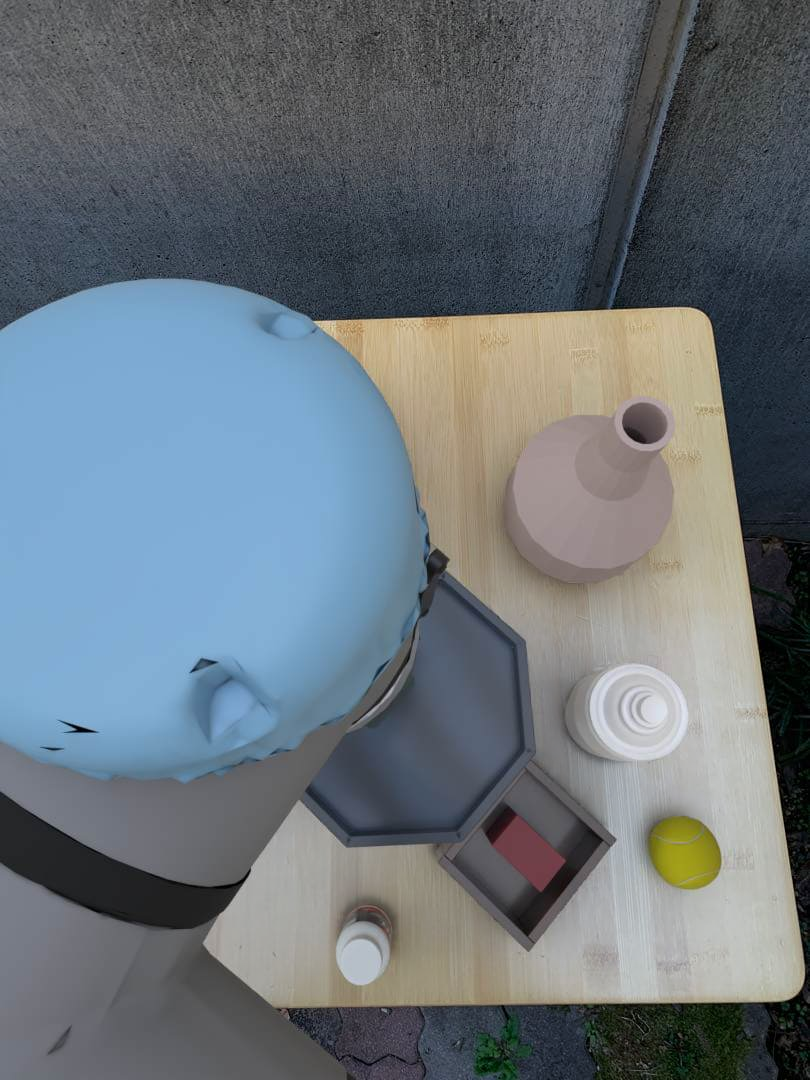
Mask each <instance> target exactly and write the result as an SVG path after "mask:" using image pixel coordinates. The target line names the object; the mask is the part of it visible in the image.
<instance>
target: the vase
mask: <svg viewBox="0 0 810 1080" xmlns="http://www.w3.org/2000/svg"><path fill="white" fill-rule="evenodd" d="M675 430H676V421H675V417H674V414H673V412H672V411H671V409H670V408H669V406H668V405H667V404H665V403H664V402H663V401H662V400H660V399H658V398H655V397H652V396H650V395H635V396H633V397H629V398H627V399H626V400H624V401H623V402H622V403H621V404H620V405H619V406H618V408H617V409H616V411H615V412H614V414H613V415H612V416H611V417H610V416H606V415H604V414H575V415H572V416H569V417H565V418H562V419H559V420H556V421H553V422H550V423H549V424H548V425H547V426H545V427H544V428H543V429H542V430H540V431H538V433H536V434H535V435H534V436H533V437H532V438H530V439H529V441H528V443H527V444H526V446H525V448H524V450H523V451H522V453H521V454H520V456H519V458H518V460H517V461H516V463H515V465H514V467H513V468H512V471H511V473H510V475H509V476H508V478H507V480H506V484H505V491H504V495H503V502H502V509H503V516H504V521H505V526H506V531H507V533H508V535H509V536H510V538H511V540H512V541H513V543H514V545H515V547H516V548H517V550H518V553H520V555H521V556H522V557H523V558H524V559H525V560H526V561H528V562H529V563H530V564H531V565H533V566H534V567H535V568H536V569H537V570H539V571H540V572H541V573H543V574H545V575H546V576H549V577H552V578H554V579H557V580H560V581H563V582H565V583H567V584H568V583H569V584H598V583H600V582H603V581H607V580H610V579H613V578H615V577H618V576H621V575H622V574H624V573H625V572H626V571H627V570H628V569H630V568H631V567H632V566H633V565H635V564H636V563H637V562H638V561H639V560H640V559H641V558H643V556H645V555H646V554H647V553H648V552H649V551H650V550H652V549H653V548H654V547H655V546H656V545H657V544H658V543H659V542H660V540H661V538H662V536H663V534H664V533H665V531H666V529H667V527H668V525H669V523H670V521H671V519H672V513H673V505H674V497H675V496H674V495H675V490H674V485H673V481H672V477H671V473H670V470H669V469H670V468H669V465H668V463H667V462H666V460H665V459H664V458H663V456H662V454H661V452H662V451H663V450H664V449H665V447H666V446H668V445H669V444H670V442H671V440H672V438H673V437H674V435H675V432H676V431H675Z"/></svg>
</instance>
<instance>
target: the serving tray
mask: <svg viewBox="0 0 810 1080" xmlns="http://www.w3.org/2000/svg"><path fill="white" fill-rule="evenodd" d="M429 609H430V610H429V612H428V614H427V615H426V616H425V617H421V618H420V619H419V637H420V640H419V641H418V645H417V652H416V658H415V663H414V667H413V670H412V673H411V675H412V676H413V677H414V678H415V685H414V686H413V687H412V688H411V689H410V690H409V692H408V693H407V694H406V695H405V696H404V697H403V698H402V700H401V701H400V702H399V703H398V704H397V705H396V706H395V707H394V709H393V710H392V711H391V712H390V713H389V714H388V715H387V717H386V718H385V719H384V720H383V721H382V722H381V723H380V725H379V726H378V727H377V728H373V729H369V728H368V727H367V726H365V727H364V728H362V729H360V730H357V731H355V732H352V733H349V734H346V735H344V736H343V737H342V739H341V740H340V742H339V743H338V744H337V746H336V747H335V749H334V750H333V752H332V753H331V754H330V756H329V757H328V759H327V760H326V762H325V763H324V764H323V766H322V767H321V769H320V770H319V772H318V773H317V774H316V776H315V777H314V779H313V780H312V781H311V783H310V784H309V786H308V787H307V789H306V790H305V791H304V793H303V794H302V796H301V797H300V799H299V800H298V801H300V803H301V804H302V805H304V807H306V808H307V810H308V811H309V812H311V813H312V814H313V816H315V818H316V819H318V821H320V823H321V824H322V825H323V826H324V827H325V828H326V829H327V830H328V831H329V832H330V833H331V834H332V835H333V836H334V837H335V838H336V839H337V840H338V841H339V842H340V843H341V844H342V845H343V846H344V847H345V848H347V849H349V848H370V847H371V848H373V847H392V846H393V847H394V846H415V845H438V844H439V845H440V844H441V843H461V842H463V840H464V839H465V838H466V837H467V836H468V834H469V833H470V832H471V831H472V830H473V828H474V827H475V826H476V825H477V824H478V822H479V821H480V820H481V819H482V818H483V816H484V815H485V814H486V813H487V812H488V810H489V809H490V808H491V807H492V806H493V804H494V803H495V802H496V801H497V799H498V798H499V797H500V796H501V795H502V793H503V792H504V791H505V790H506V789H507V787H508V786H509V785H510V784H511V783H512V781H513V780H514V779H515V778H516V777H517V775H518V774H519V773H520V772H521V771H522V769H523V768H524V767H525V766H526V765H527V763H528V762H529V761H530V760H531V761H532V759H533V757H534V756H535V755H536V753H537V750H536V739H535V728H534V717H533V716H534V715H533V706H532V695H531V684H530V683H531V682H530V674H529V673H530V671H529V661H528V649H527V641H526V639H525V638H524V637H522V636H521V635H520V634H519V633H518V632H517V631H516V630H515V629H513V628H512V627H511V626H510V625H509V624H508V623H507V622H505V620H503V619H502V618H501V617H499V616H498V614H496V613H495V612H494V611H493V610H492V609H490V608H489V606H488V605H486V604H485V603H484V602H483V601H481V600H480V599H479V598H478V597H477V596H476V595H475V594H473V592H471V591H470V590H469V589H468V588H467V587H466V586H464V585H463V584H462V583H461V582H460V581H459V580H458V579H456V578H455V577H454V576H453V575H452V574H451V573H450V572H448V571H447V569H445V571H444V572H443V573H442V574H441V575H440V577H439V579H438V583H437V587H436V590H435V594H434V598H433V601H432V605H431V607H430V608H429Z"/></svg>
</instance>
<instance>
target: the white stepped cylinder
mask: <svg viewBox="0 0 810 1080" xmlns="http://www.w3.org/2000/svg"><path fill="white" fill-rule="evenodd" d="M564 721H565V725H566V729H567V731H568V733H569V735H570V737H571V738H572V740H573V741H574V742H575V743H576V744H577V745H578V746H579V747H580V748H581V749H582V750H584V751H585V752H587V753H589V754H591V755H593V756H596V757H599V758H602V759H603V758H604V759H608V760H611V761H615V762H625V763H648V762H654V761H657V760H659V759H662V758H664V757H665V756H668V754H670V753H672V752H673V751H675V749H676V748H677V747H678V746H679V745H680V744H681V743H682V741H683V740H684V738H685V736H686V733H687V731H688V727H689V707H688V703H687V700H686V697H685V695H684V693H683V692H682V690H681V688H680V687H679V686H678V684H677V683H676V682H675V681H674V680H673V678H671V677H670V676H669V675H667V674H666V673H664V671H661V670H659V669H657V668H656V667H654V666H653V667H652V666H651V665H648V664H644V663H641V662H632V661H631V662H621V663H616V664H613V665H610V666H607V667H604V668H601V669H598V670H596V671H594V672H592V673H590V674H587V675H586V676H583V677H582V678H581V679H580V680H578V682H577V683H576V684H575V685H574V686H573V689H572V691H571V693H570V695H569V698H568V700H567V702H566V706H565V709H564Z"/></svg>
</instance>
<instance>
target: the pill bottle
mask: <svg viewBox="0 0 810 1080" xmlns="http://www.w3.org/2000/svg"><path fill="white" fill-rule="evenodd" d="M392 940H393V927H392V922H391V920H390V918H389V917H388V914H386V913H385V912H384V910H383V909H381V908H379V907H377V906H375V905H368V904H365V905H360V906H358V907H356V908H354V909H353V910H352V911H350V913H349V914H348V915H347V917H346V918H345V920H344V923H343V925H342V928H341V931H340V934H339V936H338V939H337V942H336V945H335V959H336V960H335V961H336V964H337V966H338V968H339V970H340V972H341V973H342V975H343V977H344V978H345V979H346V980H347V981H348V982H349V983H350V984H352V985H355V986H359V987H360V986H366V985H369V984H371V983H372V982H374V981H376V980H377V979H379V978H380V977H381V976H382V975H383V974H384V972H385V971H386V969H387V967H388V965H389V962H390V959H391V952H392V951H391V948H392Z"/></svg>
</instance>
